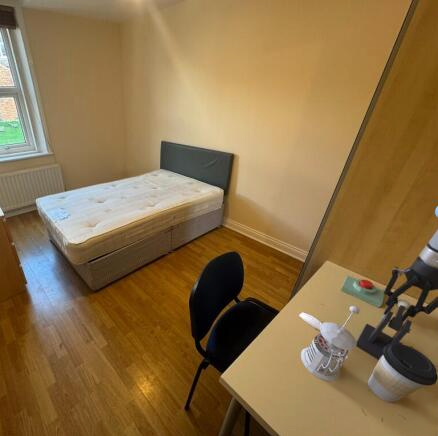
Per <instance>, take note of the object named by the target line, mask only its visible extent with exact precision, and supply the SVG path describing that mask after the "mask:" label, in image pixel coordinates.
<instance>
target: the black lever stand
mask: <svg viewBox="0 0 438 436" xmlns="http://www.w3.org/2000/svg"><path fill="white" fill-rule="evenodd" d="M393 315H394V312H393V311H391V310H390V311H388V313H387V314H386V315H385V314H383V315H382V316H381V318H380V322H379V323H378V324H377V325H376V326H375V327H374V326H372V325H371V324H368V323H366V324H365V326H364V327H363V329H362V331H361V333H360V335H359V336H358V338H357V340H356V342H357V345H356V348H359V349H360V350H362V351H363V352H365V353H366V354H368V355H370V356H371V357H373V358H374V359H376V360H378V361H379V360H380V358H381V356H382V355H383V348H384V347H385V346H387V345H389V344H403V345H404V343H403V342H401V340H402V339H403V338H404V337H405V336H406V335H407V334H410V332H411V331H412V328H411V326H412V323H413V321H411V320H409V319H406V320H405V321H404V322H403V325H402V327H401V328H400V329H399V331H395V333H394V335H393V336H390V335H388V334H387V333H385V332H383V330H384V329H385V328H386V326H388V324H389V322H390V320H391V319H392V318H393Z"/></svg>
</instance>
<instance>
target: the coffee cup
mask: <svg viewBox="0 0 438 436" xmlns="http://www.w3.org/2000/svg"><path fill="white" fill-rule="evenodd" d="M437 372H438V371H437V368H436V366H435V365H434V363H433V362H432V361H431V359H429V358H428V357H427V356H426V355H425V354H423V353H422V352H421V351H419V350H417V349H416V348H414V347H411V346H409V345H406V344H404V343H403V344H389V345H387V346H385V347H384V348H383V355H382V356H381V358H380V360H378V361H377V363H376V365H375V367H374V368H373V370H372V374H371V375H370V377H369V378H368V381H367V385H368V388H369V389H370V391H371V392H372V393H373V394H374V395H375V396H376V397H377V398H378V399H380V400H382V401H384V402H386V403H389V404H392V403H396V402H397V401H399V400H401V399H402V398H405V397H409V396H410V395H411V394H413V393H415V392H417V391H419V390H420V389H422V388H424V386H427V387H428V386H434V385H435V384H436V383H437V381H438V373H437Z"/></svg>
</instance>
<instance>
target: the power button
mask: <svg viewBox="0 0 438 436" xmlns="http://www.w3.org/2000/svg"><path fill="white" fill-rule="evenodd" d="M373 285H374V283H373V282H372V281H371V280H368V279H361V282H360V286H362V287H363V288H365V289H371V288H372V287H373Z"/></svg>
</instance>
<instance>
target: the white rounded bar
mask: <svg viewBox="0 0 438 436" xmlns="http://www.w3.org/2000/svg"><path fill="white" fill-rule="evenodd" d="M299 318H301V320H303V321H304V322H305V323H306V324H308V325H310V326H311V327H313V328H314V329H316V330H318V331H320V326H321V324H323V323H324V322H322V321H321V320H319V319H318V318H316V317H315V316H313V315H311V314H309V313H307V312H301V313H300V314H299Z"/></svg>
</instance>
